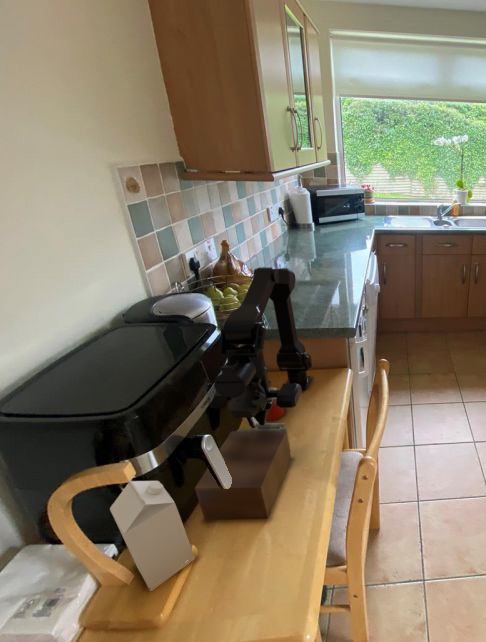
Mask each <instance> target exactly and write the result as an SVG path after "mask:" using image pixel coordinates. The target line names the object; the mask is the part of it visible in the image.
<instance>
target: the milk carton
mask: <svg viewBox="0 0 486 642" xmlns="http://www.w3.org/2000/svg"><path fill="white" fill-rule="evenodd" d="M109 511H110V513H111V515H112V517H113V520H114V521H115V523H116V525H117V528H118V529H119V532H120V534H121V536H122V538H123V540H124V543H125V545H126V548H127V549H128V551H129V553H130V556H131V557H132V560H133V561H134V564H135V565H136V567H137V570H138V571H139V573H140V575H141V577H142V579H143V581H144V582H145V585H146V586H147V588H148V589H149V588H151V587H152V586H153V587H152V588H151V589H149V591H150V592H152V591H154V590H156V588H158V587H160V586H162V584H163V583H165V582H167V580H169V579H170V578H172V577H173V576H174V575H175V574H177V573H179V572H180V570H182V569H183V568H185V567H186V566H187V565H189V564H190V563H191V562H193V561H194V560H195V559H196V556H195V554H194V551H193V548H192V545H191V543H190V540H189V537H188V534H187V532H186V529H185V527H184V524H183V521H182V517H181V515H180V513H179V510H178V508H177V505H176V503H175V501H174V499H173V498H172V497H171V495H170V493H169V492H168V491H167V490H166V489H165V487H164V485H163V484H162V483H161V482H160V481H159V480H131V481H130V482H129V481H128V483H127V484H126V486H125V487H124V489H123V490H121V493H120V494H119V495H118V497H117V498H116V499H115V501H114V502H113V503H112V504H111V506H110V507H109ZM187 560H188V561H187ZM186 561H187V562H186ZM185 562H186V563H185ZM182 564H183V565H182ZM181 565H182V566H181ZM178 567H179V568H178ZM177 568H178V569H177ZM174 570H175V571H174ZM173 571H174V572H173ZM169 574H170V575H169ZM166 576H167V577H166ZM163 578H164V579H163ZM162 579H163V580H162ZM160 580H161V581H160ZM159 581H160V582H159ZM158 582H159V583H158ZM156 583H157V584H156ZM155 584H156V585H155ZM154 585H155V586H154Z"/></svg>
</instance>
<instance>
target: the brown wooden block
mask: <svg viewBox="0 0 486 642" xmlns="http://www.w3.org/2000/svg"><path fill="white" fill-rule="evenodd" d="M287 434H288V431H287V432H286V431H237V430H236V431H234V430H233V431H232V430H231V431H230V432H229V434H228V436H227V437H226V439H225V440H224V442H223V444H222V445H221V446H220V448H219V450H220V452H221V454H222V456H223V458H224V461H225V464H226V466H227V468H228V471H229V473H230V475H231V477H232V484H231V487H230V488H229V489H221V488H220V487H219V486H218V484H217V482H216V480H215V479H214V477H213V476H212V474H211V473H210V471H209V469H208V467H207V468H206V470H205V471H204V473H203V474H202V476H201V478H200V479H199V481H198V482H197V484H196V486H195V487H194V490H195V494H196V498H197V500H198V503H199V506H200V510H201V512H202V515H203V518H204V521H237V520H239V521H241V520H242V521H243V520H268V519H269V518H270V516H271V512H272V510H273V507H274V504H275V503H276V500H277V497H278V495H279V493H280V490H281V487H282V485H283V482H284V479H285V478H286V474H287V473H288V470H289V467H290V464H291V462H292V456H291V452H290V451H291V448H290V449H289V445H290V442H289V443H288V439H289V437H288V438H287Z"/></svg>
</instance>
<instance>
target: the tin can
mask: <svg viewBox="0 0 486 642" xmlns="http://www.w3.org/2000/svg"><path fill="white" fill-rule="evenodd" d="M284 409H285V408H280V407H279V406H277V404H276V400H275V402H274V404H273V406H272V408H271V409H269V411H268V415H267V419H266V420H268V421H274V420H275V421H276V420H278V419H280V418H281V417H283V416H284V414H285V410H284Z"/></svg>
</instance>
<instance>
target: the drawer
mask: <svg viewBox="0 0 486 642" xmlns="http://www.w3.org/2000/svg"><path fill="white" fill-rule="evenodd" d="M236 431H286V432H287V438H288V443H289V449H290V453H291V451H292V450H291V446H290V441H289V434H288V429H287V428H286V423H285V422H265V424H264V425H260V424H259V423H258V422H257V423H255V425H254V428H238V429H237V430H236Z"/></svg>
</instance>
